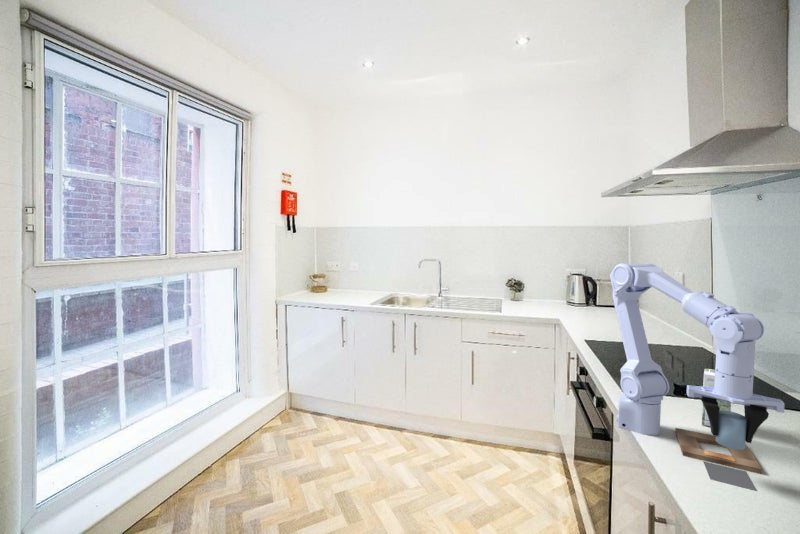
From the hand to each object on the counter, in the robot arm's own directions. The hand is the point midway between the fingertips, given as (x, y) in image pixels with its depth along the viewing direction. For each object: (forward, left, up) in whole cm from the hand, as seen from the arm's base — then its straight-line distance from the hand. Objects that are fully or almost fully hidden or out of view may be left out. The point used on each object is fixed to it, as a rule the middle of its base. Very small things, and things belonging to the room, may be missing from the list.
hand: (730, 437), depth 74 cm
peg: (0, 0, -1) cm, 1 cm away
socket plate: (0, +10, -9) cm, 14 cm away
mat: (0, 0, -9) cm, 9 cm away
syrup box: (+3, +28, -9) cm, 30 cm away
